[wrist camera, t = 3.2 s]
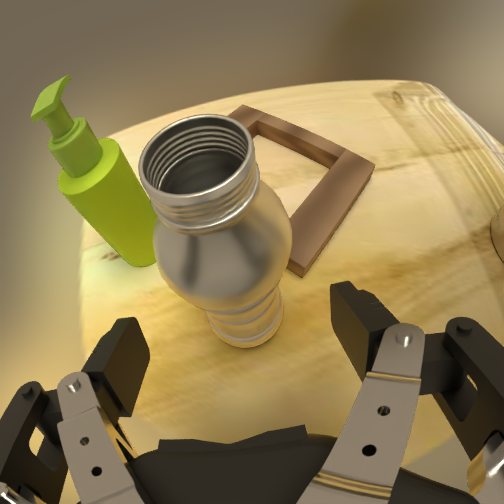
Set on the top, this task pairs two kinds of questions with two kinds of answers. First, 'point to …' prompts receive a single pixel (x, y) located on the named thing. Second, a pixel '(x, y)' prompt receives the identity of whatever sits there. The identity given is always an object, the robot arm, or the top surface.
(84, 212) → the soap dispenser
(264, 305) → the plastic bottle
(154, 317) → the top surface
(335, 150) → the brown wooden picture frame
